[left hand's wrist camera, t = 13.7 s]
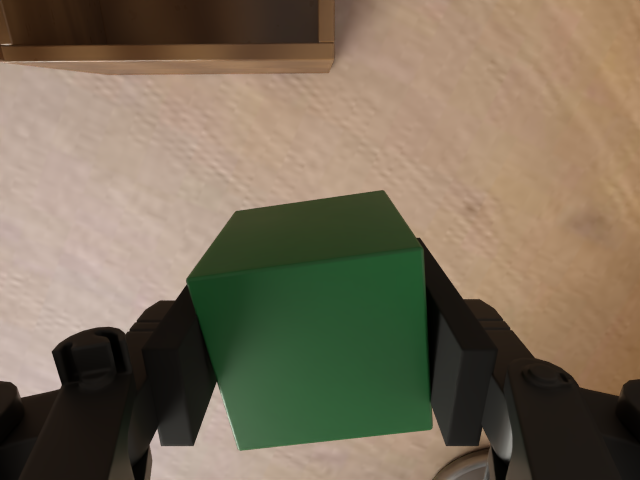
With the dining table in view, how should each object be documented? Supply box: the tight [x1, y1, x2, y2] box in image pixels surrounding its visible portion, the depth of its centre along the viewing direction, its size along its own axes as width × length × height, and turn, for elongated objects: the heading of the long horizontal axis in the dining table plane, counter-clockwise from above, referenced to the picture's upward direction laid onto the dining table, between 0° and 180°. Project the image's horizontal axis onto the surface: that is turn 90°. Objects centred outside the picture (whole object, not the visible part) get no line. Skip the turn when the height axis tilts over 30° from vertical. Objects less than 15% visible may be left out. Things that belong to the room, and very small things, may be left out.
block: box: [186, 190, 433, 451], centre depth 12 cm, size 6×6×6 cm
